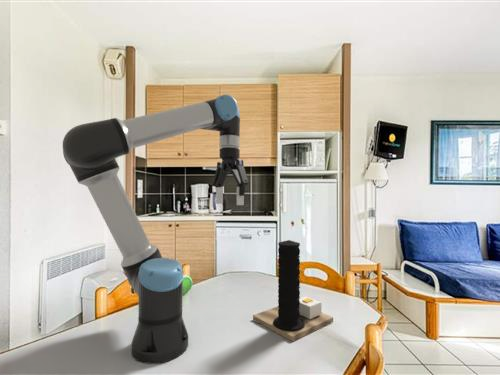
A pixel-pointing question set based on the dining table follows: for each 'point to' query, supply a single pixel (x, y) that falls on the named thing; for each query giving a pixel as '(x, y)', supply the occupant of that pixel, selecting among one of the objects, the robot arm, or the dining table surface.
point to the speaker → (186, 284)
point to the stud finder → (309, 307)
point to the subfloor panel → (310, 326)
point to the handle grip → (288, 287)
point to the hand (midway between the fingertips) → (229, 204)
